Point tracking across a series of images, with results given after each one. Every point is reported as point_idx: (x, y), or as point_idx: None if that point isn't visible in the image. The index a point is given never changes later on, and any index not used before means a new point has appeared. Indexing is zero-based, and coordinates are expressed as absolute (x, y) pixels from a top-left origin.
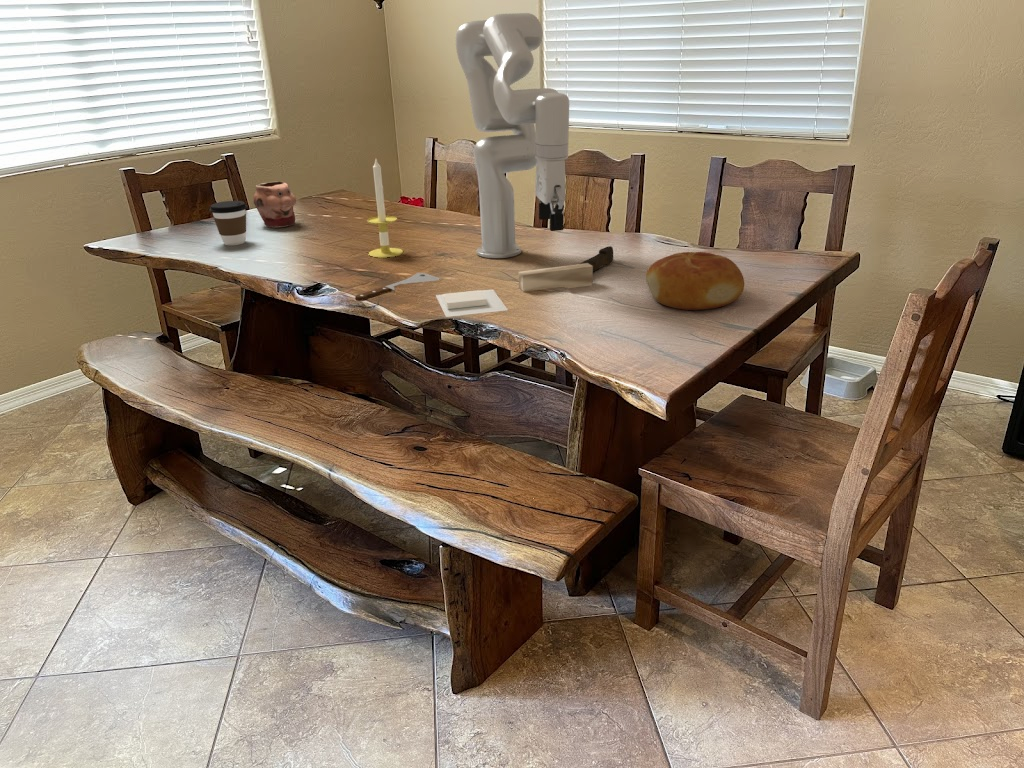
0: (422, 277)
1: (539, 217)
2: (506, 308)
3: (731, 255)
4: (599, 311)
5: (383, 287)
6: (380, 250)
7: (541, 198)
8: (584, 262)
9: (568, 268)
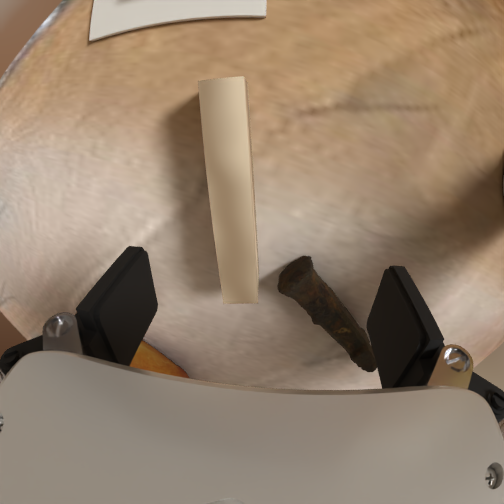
0: None
1: (394, 271)
2: (100, 36)
3: None
4: (67, 227)
5: None
6: None
7: (130, 404)
8: (315, 303)
9: (222, 241)
